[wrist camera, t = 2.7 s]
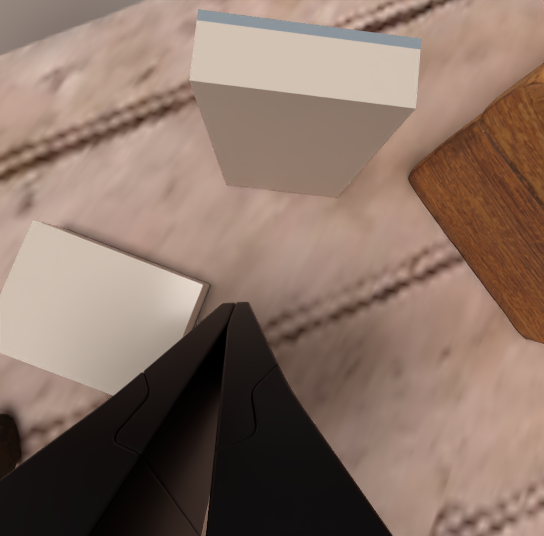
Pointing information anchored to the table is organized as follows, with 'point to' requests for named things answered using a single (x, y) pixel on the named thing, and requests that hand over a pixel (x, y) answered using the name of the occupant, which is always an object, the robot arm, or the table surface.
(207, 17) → the white rectangular block
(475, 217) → the wooden box
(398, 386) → the table surface
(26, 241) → the flat tile
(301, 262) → the table surface
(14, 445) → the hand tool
